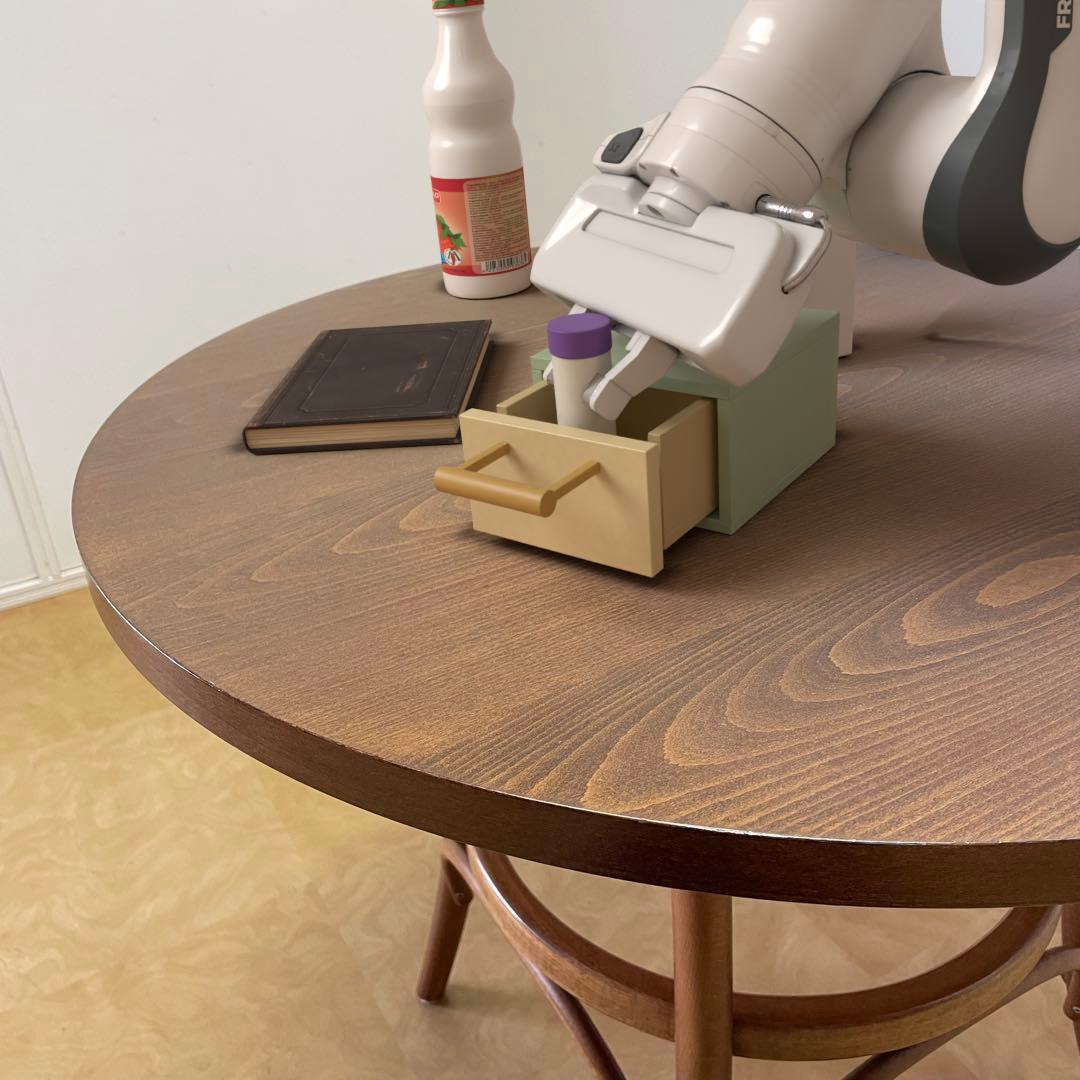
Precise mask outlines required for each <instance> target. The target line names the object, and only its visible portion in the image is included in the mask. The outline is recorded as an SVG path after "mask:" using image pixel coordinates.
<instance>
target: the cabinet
mask: <svg viewBox="0 0 1080 1080" xmlns="http://www.w3.org/2000/svg"><path fill="white" fill-rule="evenodd" d="M839 324H840V312H836V311H826V310H816V309H807V308H802V310H801V312H800V314H799V316H798V318H797V320H796V321H795V323H794V325H793V327H792V329H791V330H790V332H789V334H788V336H787V337H786V339H785V341H784V343H783V344H782V346H781V347H780V349H779V351H778V352H777V354H776V356H775V357H774V359H773V360H772V362H771V364H770V365H769V367H768V368H767V369H766V371H765V372H764V373H763V374H762V375H761V376H759V377H758V378H756V379H755V380H753V381H751V382H750V383H748V384H746V385H744V386H743V387H736V386H734V385H732V384H729V383H727V382H725V381H723V380H721V379H718V378H716V377H714V376H712V375H710V374H707V373H705V372H703V371H701V370H699V369H696V368H694V367H692V366H690V365H687V364H685V363H683V362H681V361H679V360H676V359H675V360H674V362H673V363H672V365H671V366H670V368H669V369H668V371H667V372H666V374H665V375H664V376H663V377H662V378H661V379H659V380H658V381H656V382H655V383H653V384H652V385H650V386H649V388H656V389H662V390H668V391H674V392H681V393H687V394H693V395H700V396H706V397H712V398H718V399H717V404H718V464H719V506H718V507H717V508H716V509H714V510H713V511H712V512H711V513H709V514H708V515H707V516H706V517H705V518H703V519H702V520H701V521H700V522H698V523H697V524H696V525H695V526H694V527H696V528H699V529H704V530H708V531H712V532H717V533H721V534H724V535H729V536H732V535H733V534H735V533H736V532H737V531H738V530H739V529H741V527H743V526H744V525H746V523H747V522H748V521H750V520H751V519H752V518H753V517H754V516H756V514H757V513H759V512H760V511H761V510H762V509H763V508H764V507H766V506H767V505H768V504H769V503H770V502H771V501H772V500H774V499H775V498H776V497H777V496H778V495H779V494H781V493H782V492H783V491H784V490H785V489H786V488H787V487H788V486H790V485H791V484H792V483H793V482H795V480H797V479H798V478H799V477H800V476H801V475H802V474H803V473H805V472H806V471H807V470H808V469H809V468H810V467H811V466H813V465H814V464H815V463H816V462H817V461H818V460H819V459H821V458H822V457H823V456H824V455H825V454H826V453H827V452H829V451H830V450H831V449H832V448H833V447H835V445H836V432H837V409H838V408H837V406H838V381H839V379H838V377H839V357H838V353H839ZM611 333H612V348H611V361H612V368H613V367H614V366H615V365H617V364H618V363H619V362H620V361H621V360H622V359H623V358H624V357H625V356H626V355H627V354H629V352H628V351H627V350H626V346H627V344H628V343H629V341H630V340H631V339H630V338H628V337H626V336H623V335H621V334H619V333H617V332H615V331H612V330H611ZM529 358H530V368H531V377H532V386H533V385H535V384H537V383H538V382H540V381H542V380H543V373H544V371H545V370H546V368H547V367H548V365H549V364H550V362H551V361H552V355H551V353H550V352H549V346H548V347H546V348H544V349H542V350H540V351H538V352H537V353H534V354H532V355H531V356H530V357H529Z"/></svg>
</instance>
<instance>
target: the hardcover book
mask: <svg viewBox="0 0 1080 1080" xmlns="http://www.w3.org/2000/svg"><path fill="white" fill-rule="evenodd" d="M492 324H493V321H492V319H490V318H489V319H487V318H486V319H474V320H472V319H471V320H460V321H443V322H442V321H441V322H429V323H426V322H425V323H413V324H397V325H382V326H367V327H366V326H365V327H353V328H352V327H351V328H335V329H324V330H323V329H322V331H320V332H319V333H318V335H317V336H316V337H315V338H314V340H313V341H312V342H311V343H310V344H309V346H308V347H307V348H306V350H305V351H304V353H303V354H302V355H301V356H300V357H299V359H298V360H297V361H296V362H295V364H294V365H293V366H292V367H291V369H290V370H289V371H288V373H287V374H286V375H285V376H284V378H282V380H281V381H280V383H279V384H278V385H277V386H276V388H274V390H273V391H272V393H270V395H269V396H268V397H267V399H266V400H265V401H264V403H263V404H262V405H261V406H260V407H259V408H258V410H257V412H256V413H255V414H254V415H253V416H252V418H251V419H250V420H249V421H248V423H247V424H246V425H245V426H244V428H243V429H242V431H241V435H242V442H243V445H244V448H245V450H246V451H248V452H249V453H250V454H253V455H269V454H271V455H273V454H286V453H306V452H323V451H324V452H325V451H326V452H327V451H343V450H360V449H380V448H381V449H382V448H397V447H399V448H401V447H416V446H432V445H433V446H434V445H435V446H436V445H453V444H461V443H462V436H461V428H460V420H459V415H460V414H462V413H464V412H466V411H468V410H469V409H471V408H473V407H474V403H475V401H476V398H477V396H478V393H479V389H480V388H481V387H480V386H481V384H482V381H483V377H484V375H485V374H484V373H485V372H486V369H487V365H488V362H489V359H490V357H491V354H492V352H493V348H494V345H495V340H490V336H489V335H490V329H491V326H492Z"/></svg>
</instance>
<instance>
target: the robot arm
mask: <svg viewBox="0 0 1080 1080" xmlns="http://www.w3.org/2000/svg"><path fill="white" fill-rule="evenodd" d="M942 3H943V0H746V1H745V3H744V4H743V6H742V7H741V9H740V10H739V12H738V13H737V15H736V16H735V18H734V19H733V21H732V23H731V25H730V27H729V29H728V31H727V35H726V38H725V42H724V44H723V47H722V49H721V51H720V52H719V54H718V56H717V57H716V59H715V61H714V62H713V63H712V64H711V65H710V67H708V68H707V69H706V70H705V71H704V72H703V73H702V74H700V75H699V76H698V77H697V78H696V79H695V80H693V81H692V83H691V84H690V85H689V86H688V88H687V89H686V90H685V92H683V95H682V96H681V97H680V99H679V101H678V102H677V103H676V105H675V107H674V108H673V110H672V111H669V110H668V111H664V112H663V113H660V114H658V115H657V116H655V117H654V118H652V119H650V120H648V121H645V122H643V123H641V124H639V125H636V126H633V127H631V128H627V129H624V130H620V131H616V132H614V133H612V134H610V135H608V136H607V137H606V138H605V139H604V140H603V142H602V143H601V144H600V146H599V147H598V149H597V151H596V152H595V154H594V156H593V158H592V164H593V166H594V167H595V168H596V169H597V170H598V171H599V173H596V174H594V175H592V176H590V177H589V178H587V179H586V180H585V181H584V182H583V183H582V184H581V185H580V186H579V187H578V189H577V190H576V191H575V192H574V194H573V195H572V196H571V198H570V199H569V200H568V202H567V203H566V205H565V207H564V208H563V209H562V211H561V212H560V214H559V216H558V217H557V219H556V220H555V222H554V224H553V225H552V227H551V228H550V230H549V232H548V233H547V235H546V237H545V238H544V240H543V241H542V243H541V245H540V247H539V248H538V249H537V252H536V253H535V256H534V258H533V260H532V270H531V276H530V280H531V282H532V283H531V285H533V286H534V287H536V289H538V290H539V291H541V293H542V294H544V295H545V296H547V297H548V298H549V299H550V300H552V301H553V302H555V303H556V304H557V305H558V306H560V307H561V308H562V309H564V310H566V311H568V314H567V315H570V314H578V313H595V314H601V315H605V316H607V317H609V318H610V320H611V330H612V331H615V332H617V333H619V334H621V335H623V336H626V337H628V338H630V339H631V340H630V341H629V343H628V344H627V346H626V350H627V351H628V352H629V354H627V355H626V356H625V357H624V358H623V359H622V360H621V361H620V362H619V363H618V364H617V365H615V366H614V367H613V368H612V369H611V370H610V371H609V372H608V373H607V374H606V375H604V376H605V377H604V376H602V375H600V374H598V373H597V374H596V375H595V377H594V378H593V379H592V381H591V382H590V384H589V387H588V388H587V389H586V390H585V391H584V392H583V394H582V396H581V401H582V403H583V404H584V405H585V406H586V407H588V408H589V409H591V410H592V411H593V412H595V413H596V414H598V415H599V416H601V417H603V418H604V419H606V420H608V421H614V420H616V419H617V418H618V416H619V415H620V413H621V412H622V411H623V409H624V408H625V406H626V405H627V403H628V402H629V400H630V399H631V398H632V396H633V397H634V396H636V395H637V394H639V393H640V392H642V391H643V390H644V389H646V388H647V387H649V386H650V385H652V384H653V383H655V382H656V381H658V380H659V379H661V378H662V377H663V376H664V375H665V374H666V372H667V371H668V369H669V368H670V366H671V365H672V363H673V362H674V360H675V359H676V360H679V361H681V362H683V363H685V364H687V365H690V366H692V367H694V368H696V369H699V370H701V371H703V372H705V373H707V374H710V375H712V376H714V377H716V378H718V379H721V380H723V381H725V382H727V383H729V384H732V385H734V386H736V387H743V386H744V385H746V384H748V383H750V382H751V381H753V380H755V379H756V378H758V377H759V376H761V375H762V374H763V373H764V372H765V371H766V369H767V368H768V367H769V365H770V364H771V362H772V360H773V359H774V357H775V356H776V354H777V352H778V351H779V349H780V347H781V346H782V344H783V343H784V341H785V339H786V337H787V336H788V334H789V332H790V330H791V329H792V327H793V325H794V323H795V321H796V320H797V318H798V316H799V314H800V312H801V310H802V308H803V306H804V305H805V303H806V301H807V299H808V296H809V294H810V292H811V290H812V287H813V285H814V282H815V278H816V271H817V270H816V269H817V268H818V266H819V265H820V263H821V262H822V261H823V259H824V258H825V256H826V255H827V253H828V252H829V250H830V248H831V245H832V242H833V240H832V238H831V236H832V233H833V234H835V235H837V236H839V237H842V238H845V239H848V240H852V241H856V242H857V243H861V244H864V245H869V246H873V247H876V248H878V249H880V250H883V251H886V252H891V253H895V254H900V255H904V256H908V257H912V258H917V259H921V260H925V261H929V262H934V263H938V264H939V265H941V266H942V267H945V268H947V269H950V270H952V271H954V272H957V273H961V274H963V275H966V276H968V277H971V278H974V279H976V280H979V281H982V282H985V283H987V284H990V285H992V286H993V285H994V286H1000V287H1004V286H1005V287H1007V286H1015V285H1018V284H1019V285H1020V284H1023V283H1026V282H1028V281H1030V280H1033V279H1034V278H1037V277H1038V276H1040V275H1042V274H1044V273H1045V272H1047V271H1049V270H1050V269H1052V268H1054V267H1055V266H1056V265H1058V264H1059V263H1061V262H1063V260H1065V259H1066V258H1068V256H1070V255H1071V254H1072V253H1074V252H1075V251H1076V250H1078V248H1079V247H1080V0H984V17H983V18H984V19H983V21H984V22H983V49H982V51H983V53H982V59H981V63H980V67H979V70H978V72H977V74H976V76H971V75H952V73H951V71H950V68H949V66H948V61H947V58H946V53H945V47H944V41H943V32H942V6H943V5H942ZM543 380H544V381H545V382H546V383H547V384H548V385H550V386H551V387H553V388H554V377H553V366H552V361H551V362H550V364H549V365H548V367H547V368H546V370H545V371H544V373H543ZM554 389H555V388H554Z"/></svg>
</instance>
